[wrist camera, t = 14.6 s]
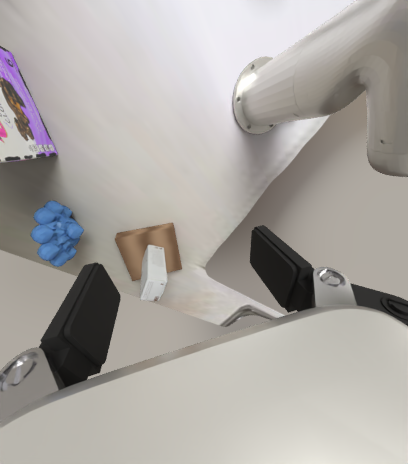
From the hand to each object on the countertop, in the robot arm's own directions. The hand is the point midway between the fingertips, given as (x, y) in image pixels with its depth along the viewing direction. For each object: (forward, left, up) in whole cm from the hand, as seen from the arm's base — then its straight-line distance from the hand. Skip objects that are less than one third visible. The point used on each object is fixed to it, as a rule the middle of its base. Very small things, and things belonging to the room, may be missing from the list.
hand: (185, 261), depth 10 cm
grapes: (+21, +7, -32) cm, 39 cm away
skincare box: (+6, +19, -29) cm, 35 cm away
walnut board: (+7, +19, -31) cm, 37 cm away
